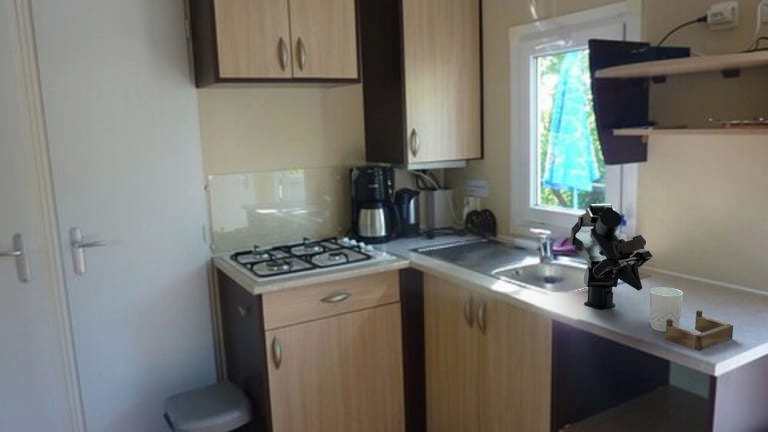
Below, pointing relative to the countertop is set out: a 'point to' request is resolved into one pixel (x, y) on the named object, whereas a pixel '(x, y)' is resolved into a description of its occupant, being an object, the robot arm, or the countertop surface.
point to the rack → (711, 336)
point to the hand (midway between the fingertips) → (640, 289)
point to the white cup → (665, 307)
